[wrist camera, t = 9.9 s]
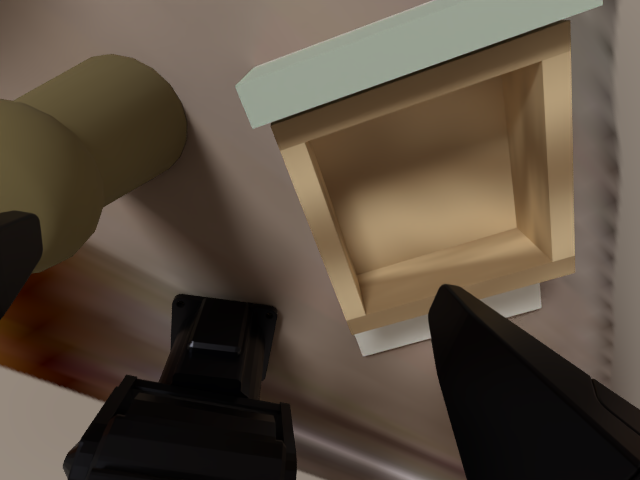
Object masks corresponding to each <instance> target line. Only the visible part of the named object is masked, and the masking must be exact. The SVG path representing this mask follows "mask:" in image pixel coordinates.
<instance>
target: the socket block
mask: <svg viewBox="0 0 640 480" xmlns="http://www.w3.org/2000/svg"><path fill="white" fill-rule="evenodd" d="M271 129H272V131H273V134H274V136H275V139H276V142H277V144H278V147H279V149H280V152H281V154H282V157H283V159H284V162H285V165H286V167H287V170H288V172H289V175H290V177H291V180H292V183H293V185H294V188H295V190H296V193H297V195H298V198H299V201H300V203H301V206H302V208H303V211H304V213H305V216H306V219H307V221H308V224H309V226H310V229H311V231H312V234H313V236H314V239H315V242H316V244H317V247H318V249H319V252H320V254H321V257H322V260H323V262H324V265H325V267H326V270H327V272H328V275H329V278H330V280H331V283H332V285H333V288H334V290H335V293H336V296H337V298H338V301H339V303H340V306H341V308H342V311H343V313H344V316H345V319H346V321H347V324H348V326H349V329H350V331H351V334H352V335H355V334H358V333H362V332H365V331H369V330H372V329H376V328H380V327H383V326H387V325H390V324H394V323H397V322H401V321H405V320H408V319H412V318H415V317H419V316H422V315H426V314H428V312H429V309H430V307H431V305H432V302H433V300H434V298H435V296H436V293H437V291H438V289H439V287H440V286H441V285H442V284H451V285H457V286H460V287H462V288H463V289H465V290H466V291H467V292H469V293H470V294H472V295H473V296H475V297H476V298H478V299H479V300H480V299H483V298H487V297H490V296H494V295H497V294H501V293H505V292H508V291H512V290H515V289H519V288H522V287H526V286H529V285H533V284H537V283H540V282H544V281H547V280H551V279H554V278H558V277H562V276H565V275H569V274H572V273H575V244H574V192H573V141H572V89H571V38H570V20H559V21H556V22H553V23H551V24H548V25H545V26H542V27H539V28H536V29H534V30H531V31H528V32H525V33H522V34H519V35H517V36H514V37H511V38H508V39H505V40H503V41H500V42H497V43H494V44H491V45H488V46H486V47H483V48H480V49H477V50H474V51H471V52H469V53H466V54H463V55H460V56H457V57H454V58H452V59H449V60H446V61H443V62H440V63H438V64H435V65H432V66H429V67H426V68H423V69H421V70H418V71H415V72H412V73H409V74H406V75H404V76H401V77H398V78H395V79H392V80H389V81H387V82H384V83H381V84H378V85H375V86H373V87H370V88H367V89H364V90H361V91H358V92H356V93H353V94H350V95H347V96H344V97H341V98H339V99H336V100H333V101H330V102H327V103H325V104H322V105H319V106H316V107H313V108H310V109H308V110H305V111H302V112H299V113H296V114H293V115H291V116H288V117H285V118H282V119H279V120H276V121H274V122H271Z"/></svg>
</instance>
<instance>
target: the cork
mask: <svg viewBox="0 0 640 480" xmlns="http://www.w3.org/2000/svg"><path fill="white" fill-rule="evenodd" d="M186 133H187V121H186V118H185V114H184V111H183V107H182V104H181V101H180V100H179V98H178V97H177V95H176V93H175V92H174V90H173V89H172V87H171V85H170V84H169V83H168V82H167V81H166V80H165V79H164V78H163V77H161V76H160V75H159V74H158V73H157V72H156V71H155V70H154V69H153V68H151V67H149V66H147V65H145V64H143V63H141V62H139V61H137V60H136V59H134V58H129V57H124V56H119V55H114V54H109V55H102V56H95V57H91V58H89V59H87V60H85V61H84V62H82V63H80V64H78V65H76V66H75V67H73V68H71V69H69V70H67V71H66V72H64V73H62V74H60V75H59V76H57V77H55V78H53V79H51V80H50V81H48V82H46V83H44V84H42V85H41V86H39V87H37V88H35V89H33V90H32V91H30V92H28V93H26V94H25V95H23V96H21V97H19V98H17V99H16V100H14V101H10V100H4V99H0V213H2V212H7V211H13V210H17V211H23V212H29V213H33V214H36V215H37V216H38V218H39V220H40V226H41V234H42V243H43V253H42V257H41V259H40V261H39V262H38V264H37V265H36V267H35V269H34V270H33V272H32V273H37V272H41V271H43V270H45V269H48V268H50V267H52V266H54V265H56V264H58V263H60V262H62V261H64V260H66V259H68V258H70V257H72V256H73V255H74V254H75V253H76V252H77V251H78V250H79V249H80V248H81V246H82V245H83V244H84V243H85V242H86V241H87V240H88V239H89V237H90V236H91V235H92V234H93V233H94V232H95V230H96V227H97V224H98V221H99V218H100V215H101V212H102V209H103V207H105V206H106V205H108V204H110V203H111V202H113V201H115V200H117V199H118V198H120V197H122V196H123V195H125V194H127V193H128V192H130V191H132V190H134V189H135V188H137V187H139V186H140V185H142V184H144V183H145V182H147V181H149V180H151V179H152V178H154V177H156V176H157V175H159V174H161V173H163V172H164V171H166V170H168V169H169V168H170V167H171V166H172V165H173V164H174V163H175V162H176V160H177V159H178V158H179V157H180V155H181V153H182V150H183V148H184V145H185V143H186Z"/></svg>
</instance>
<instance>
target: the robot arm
mask: <svg viewBox="0 0 640 480" xmlns="http://www.w3.org/2000/svg"><path fill="white" fill-rule="evenodd" d="M42 253H43V243H42V234H41V226H40V220H39V218H38V216H37V215H36V214H33V213H29V212H23V211H17V210H13V211H7V212H2V213H0V320H1V318H2V317H3V316H4V314H5V313H6V311H7V310H8V309H9V307H10V306H11V304H12V303H13V301H14V299H15V298H16V296H17V295H18V293H19V292H20V290H21V289H22V287H23V286H24V284H25V282H26V281H27V279H28V278H29V276H30V275H31V273H32V272H33V270H34V269H35V267H36V265H37V264H38V262H39V261H40V259H41V257H42ZM179 301H182V302H184V304H182V303H180V302H179ZM267 313H272V315H267ZM276 320H277V309H276V308H275V307H273V306H268V305H260V304H253V303H246V302H238V301H231V300H223V299H216V298H208V297H201V296H193V295H186V294H178V295H176V296H175V298H174V300H173V303H172V326H171V352H170V354H169V357H168V360H167V362H166V365H165V367H164V370H163V372H162V375H161V377H160V380H159V383H158V382H153V381H147V380H142V379H137V377H136V376H130V375H126V376H125V378H124V379H123V381H122V382H121V384H120V385H119V386H118V387H117V386H116V387H115V389H114V390H113V392H112V393H111V395H110V396H109V398H108V399H107V401H106V402H105V404H104V405H103V407H102V408H101V410H100V411H99V413H98V414H97V416H96V417H95V418H94V420H93V421H92V423H91V424H90V426H89V427H88V429H87V430H86V432H85V433H84V435H83V436H82V438H81V440H80V441H79V442H78V443H77V444H76V445H75V446H74V447H73V448H72V449H71V450H70V451H69V452H68V454H67V456H66V458H65V460H64V464H63V469H64V472H65V474H66V476H67V478H68V480H296V473H297V459H296V449H295V441H294V433H293V425H292V417H291V410H290V404H287V403H282V402H280V403H279V404H277V403H271V402H265V401H260V400H259V398H260V389H261V381H263V380H264V379H265V376H266V371H267V366H268V361H269V356H270V351H271V346H272V340H273V335H274V330H275V325H276ZM428 323H429V329H430V335H431V341H432V347H433V353H434V359H435V365H436V370H437V375H438V379H439V383H440V387H441V390H442V394H443V397H444V401H445V404H446V408H447V411H448V415H449V418H450V422H451V425H452V429H453V432H454V436H455V439H456V443H457V446H458V450H459V454H460V457H461V461H462V464H463V468H464V471H465V475H466V478H467V480H640V410H639V409H638V408H636V407H635V406H633V405H632V404H630V403H629V402H628V401H626V400H625V399H623V398H622V397H620V396H619V395H617V394H616V393H614V392H613V391H611V390H610V389H608V388H607V387H605V386H604V385H602V384H601V383H600V382H598V381H597V380H595V379H591V377H590V376H589V375H588V374H586V373H585V372H584V371H582V370H581V369H579V368H578V367H576V366H575V365H573V364H572V363H570V362H569V361H568V360H566V359H565V358H563V357H562V356H560V355H559V354H557V353H556V352H555V351H553V350H552V349H550V348H549V347H547V346H546V345H544V344H543V343H541V342H540V341H539V340H537V339H536V338H534V337H533V336H531V335H530V334H528V333H527V332H525V331H524V330H523V329H521V328H520V327H518V326H517V325H515V324H514V323H512V322H511V321H510V320H508V319H507V318H505V317H504V316H502V315H501V314H499V313H498V312H496V311H495V310H494V309H492V308H491V307H489V306H488V305H486V304H485V303H483V302H482V301H481V300H479V299H478V298H476V297H475V296H473V295H472V294H470V293H469V292H467V291H466V290H465V289H463V288H462V287H460V286H457V285H451V284H442V285H441V286H440V287H439V289H438V291H437V293H436V296H435V298H434V300H433V302H432V305H431V307H430V309H429V312H428Z"/></svg>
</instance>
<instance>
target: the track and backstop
mask: <svg viewBox="0 0 640 480" xmlns="http://www.w3.org/2000/svg"><path fill="white" fill-rule="evenodd" d="M601 5H603V0H432V1H430V2H427V3H424V4H422V5H419V6H416V7H414V8H411V9H408V10H406V11H403V12H400V13H398V14H395V15H392V16H390V17H387V18H384V19H382V20H379V21H376V22H373V23H371V24H368V25H365V26H363V27H360V28H357V29H355V30H352V31H349V32H347V33H344V34H341V35H339V36H336V37H333V38H331V39H328V40H325V41H323V42H320V43H317V44H315V45H312V46H309V47H307V48H304V49H301V50H298V51H296V52H293V53H290V54H288V55H285V56H282V57H280V58H277V59H274V60H272V61H269V62H266V63H264V64H261V65H258V66H256V67H254V68H253V69H252V70H251V71H250V72H249V73H248V74H247V75H246V76H245V77H244V78H243V79H242V80H241V81H240V82H239V83H238V84H237V85H236V86H235V88H236V90H237V92H238V95H239V97H240V100H241V102H242V105H243V107H244V109H245V112H246V114H247V117H248V119H249V121H250V124H251V126H252V129H254V128H257V127H260V126H262V125H265V124H268V123H271V122H274V121H276V120H279V119H282V118H285V117H288V116H291V115H293V114H296V113H299V112H302V111H305V110H308V109H310V108H313V107H316V106H319V105H322V104H325V103H327V102H330V101H333V100H336V99H339V98H341V97H344V96H347V95H350V94H353V93H356V92H358V91H361V90H364V89H367V88H370V87H373V86H375V85H378V84H381V83H384V82H387V81H389V80H392V79H395V78H398V77H401V76H404V75H406V74H409V73H412V72H415V71H418V70H421V69H423V68H426V67H429V66H432V65H435V64H438V63H440V62H443V61H446V60H449V59H452V58H454V57H457V56H460V55H463V54H466V53H469V52H471V51H474V50H477V49H480V48H483V47H486V46H488V45H491V44H494V43H497V42H500V41H503V40H505V39H508V38H511V37H514V36H517V35H519V34H522V33H525V32H528V31H531V30H534V29H536V28H539V27H542V26H545V25H548V24H551V23H553V22H556V21H559V20H562V19H565V18H567V17H570V16H573V15H576V14H579V13H582V12H584V11H587V10H590V9H593V8H596V7H599V6H601ZM480 300H481V301H482V302H483V303H485V304H486V305H488V306H489V307H491V308H492V309H494V310H495V311H496V312H498V313H499V314H501V315H502V316H504V317H505V318H507V317H510V316H514V315H518V314H521V313H525V312H529V311H532V310H536V309H540V308H542V307H541V294H540V283H537V284H533V285H529V286H526V287H522V288H519V289H515V290H512V291H508V292H505V293H501V294H497V295H494V296H490V297H487V298H483V299H480ZM355 337H356V340H357V342H358V345H359V347H360V350H361V353H362V355H363V357H364V356H367V355H371V354H375V353H378V352H382V351H386V350H389V349H393V348H397V347H400V346H404V345H408V344H411V343H415V342H419V341H422V340H426V339H430V338H431V335H430V329H429V323H428V314H426V315H422V316H419V317H415V318H412V319H408V320H405V321H401V322H397V323H394V324H390V325H387V326H383V327H380V328H376V329H372V330H369V331H365V332H362V333H358V334H355Z"/></svg>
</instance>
